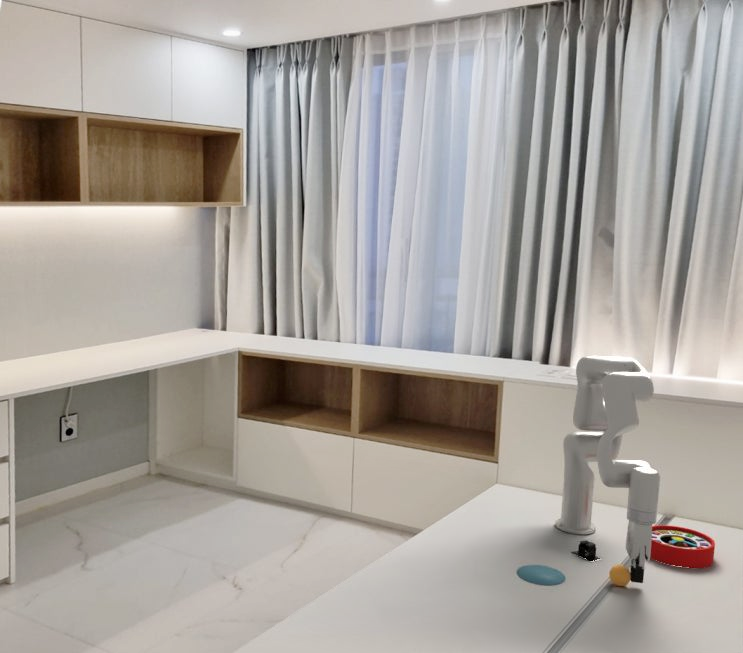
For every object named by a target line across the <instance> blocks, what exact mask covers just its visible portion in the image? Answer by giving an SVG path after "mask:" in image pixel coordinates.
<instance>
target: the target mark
mask: <svg viewBox="0 0 743 653" xmlns="http://www.w3.org/2000/svg"><path fill="white" fill-rule="evenodd" d="M516 574H517V576H518V577H519V578H520V579H522V580H523V581H525V582H529V583H531V584H535V585H539V586H556V585H561V584H562V583H564V582H565V581H566V576H565V574H564V573H563V572H562V571H560V570H558V569H556V568H553V567H551V566H547V565H541V564H527V565H521V566H520V567H518V568H517V570H516Z"/></svg>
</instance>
